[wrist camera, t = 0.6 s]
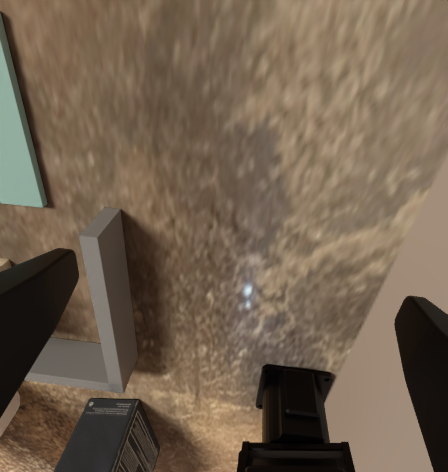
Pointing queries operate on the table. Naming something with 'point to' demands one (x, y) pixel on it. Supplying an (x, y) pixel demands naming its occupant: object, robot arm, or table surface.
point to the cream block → (4, 264)
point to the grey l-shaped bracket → (98, 318)
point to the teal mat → (16, 140)
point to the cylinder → (9, 412)
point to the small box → (111, 439)
